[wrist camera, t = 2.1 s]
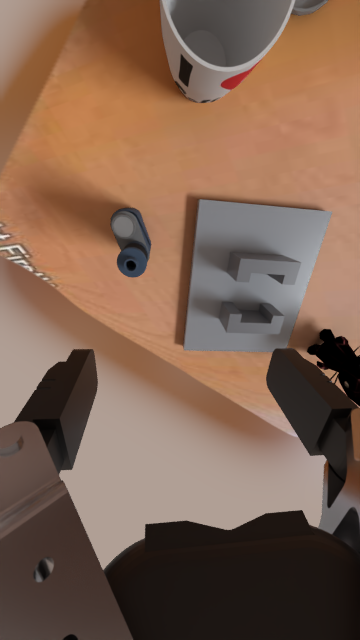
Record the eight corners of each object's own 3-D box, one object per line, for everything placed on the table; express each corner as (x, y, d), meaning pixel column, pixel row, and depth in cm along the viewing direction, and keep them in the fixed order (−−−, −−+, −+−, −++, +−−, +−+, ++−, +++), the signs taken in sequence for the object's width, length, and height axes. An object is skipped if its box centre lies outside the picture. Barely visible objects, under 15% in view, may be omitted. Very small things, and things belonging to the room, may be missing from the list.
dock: (198, 199, 27) (206, 198, 22) (325, 211, 28) (358, 212, 24) (183, 345, 35) (186, 367, 31) (281, 348, 37) (299, 368, 33)
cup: (157, 118, 23) (157, 64, 14) (157, -4, 20) (157, -180, 11) (236, 125, 24) (282, 77, 15) (250, 9, 20) (322, -145, 11)
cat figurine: (321, 318, 35) (391, 368, 25) (353, 332, 37) (433, 384, 26) (294, 354, 38) (347, 413, 27) (325, 366, 40) (387, 425, 29)
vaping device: (135, 256, 29) (121, 286, 18) (117, 212, 27) (89, 216, 16) (154, 249, 29) (152, 275, 18) (138, 204, 26) (124, 204, 16)
